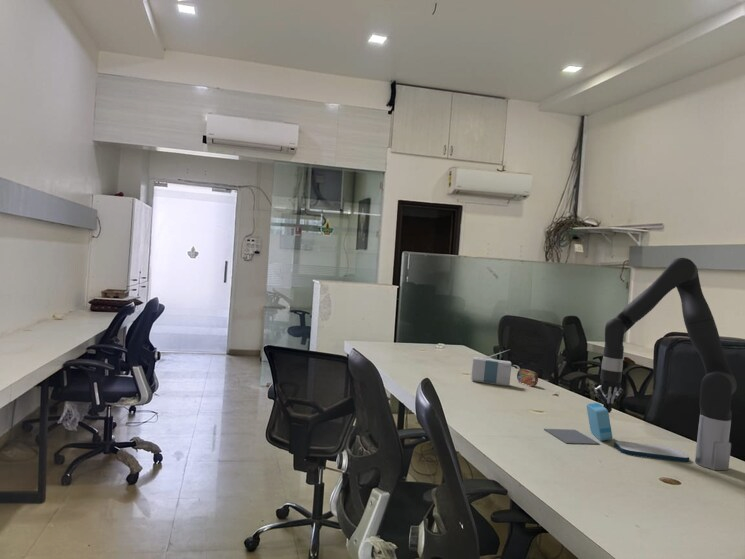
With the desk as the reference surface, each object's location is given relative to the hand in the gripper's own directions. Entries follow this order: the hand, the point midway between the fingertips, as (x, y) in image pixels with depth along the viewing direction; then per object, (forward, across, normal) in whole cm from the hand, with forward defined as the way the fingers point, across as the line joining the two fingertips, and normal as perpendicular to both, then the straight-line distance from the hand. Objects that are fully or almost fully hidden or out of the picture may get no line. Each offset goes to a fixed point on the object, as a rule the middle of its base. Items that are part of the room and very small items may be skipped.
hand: (607, 412), depth 206 cm
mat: (+10, -15, 0) cm, 18 cm away
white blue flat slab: (+11, +8, -16) cm, 21 cm away
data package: (+10, -1, 0) cm, 10 cm away
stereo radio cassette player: (+11, -9, +90) cm, 91 cm away
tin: (+11, +14, +91) cm, 92 cm away
